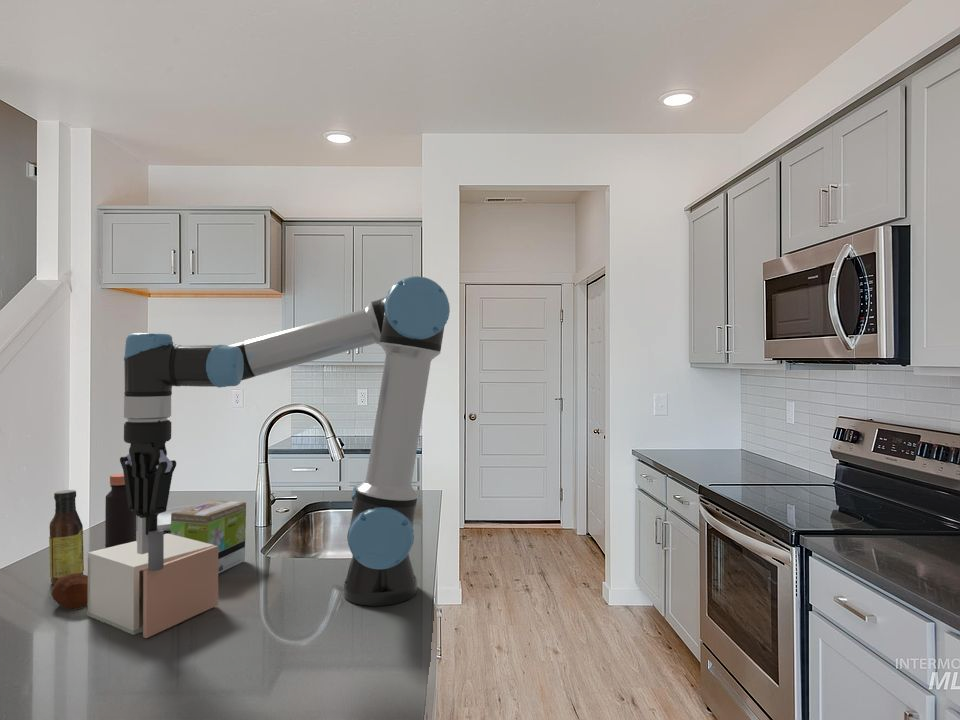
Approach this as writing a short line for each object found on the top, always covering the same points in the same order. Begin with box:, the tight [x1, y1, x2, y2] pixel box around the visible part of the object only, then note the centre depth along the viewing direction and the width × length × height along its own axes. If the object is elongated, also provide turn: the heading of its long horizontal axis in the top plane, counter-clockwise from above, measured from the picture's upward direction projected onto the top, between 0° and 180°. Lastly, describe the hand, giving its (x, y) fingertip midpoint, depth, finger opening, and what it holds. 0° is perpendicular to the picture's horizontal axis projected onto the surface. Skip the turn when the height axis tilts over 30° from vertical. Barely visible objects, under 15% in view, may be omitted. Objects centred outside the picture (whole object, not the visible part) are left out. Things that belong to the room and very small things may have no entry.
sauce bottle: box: [48, 489, 85, 586], centre depth 138 cm, size 7×6×20 cm
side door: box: [142, 529, 219, 639], centre depth 116 cm, size 16×2×18 cm, turn 158°
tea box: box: [170, 499, 247, 575], centre depth 146 cm, size 15×10×15 cm, turn 168°
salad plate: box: [157, 504, 196, 532], centre depth 190 cm, size 21×21×3 cm
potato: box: [51, 573, 88, 611], centre depth 124 cm, size 7×9×6 cm
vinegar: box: [104, 473, 137, 549], centre depth 158 cm, size 7×7×20 cm
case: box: [87, 533, 215, 636], centre depth 122 cm, size 16×16×12 cm
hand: (146, 551), depth 112 cm, fingers closed
